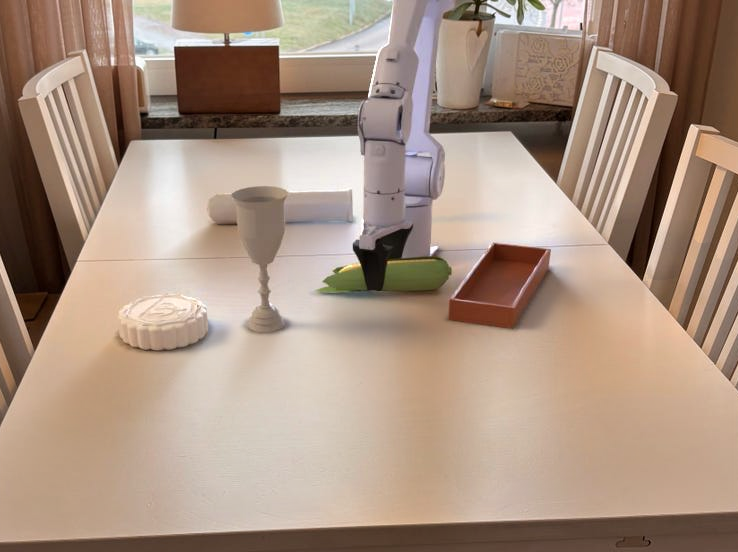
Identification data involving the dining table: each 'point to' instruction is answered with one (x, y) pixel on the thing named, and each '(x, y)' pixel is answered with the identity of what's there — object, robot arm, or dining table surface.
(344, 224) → the dining table surface
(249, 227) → the chalice
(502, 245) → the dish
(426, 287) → the edible corn
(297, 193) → the tube
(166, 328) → the mooncake
